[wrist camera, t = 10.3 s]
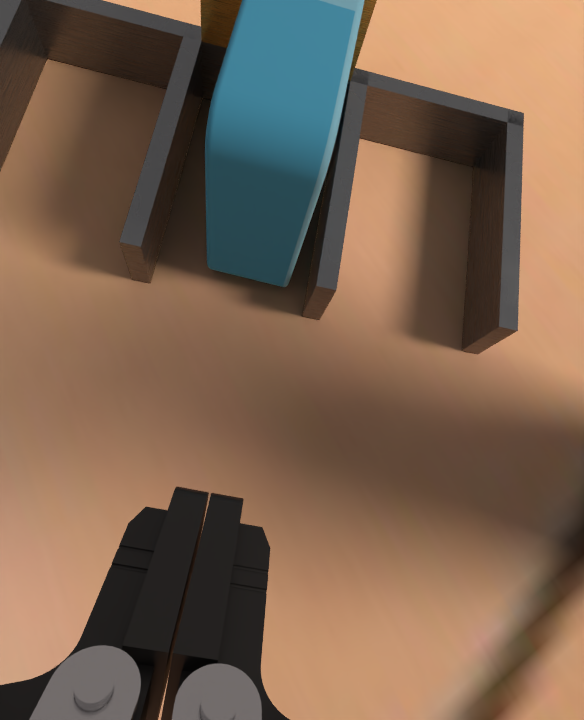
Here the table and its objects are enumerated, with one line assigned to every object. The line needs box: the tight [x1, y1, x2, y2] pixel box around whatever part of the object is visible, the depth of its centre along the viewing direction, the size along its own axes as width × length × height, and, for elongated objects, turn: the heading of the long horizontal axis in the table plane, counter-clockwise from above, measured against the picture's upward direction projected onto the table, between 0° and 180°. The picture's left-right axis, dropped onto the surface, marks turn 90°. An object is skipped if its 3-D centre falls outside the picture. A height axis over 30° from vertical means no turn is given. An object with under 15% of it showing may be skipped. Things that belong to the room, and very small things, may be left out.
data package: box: [205, 0, 365, 287], centre depth 25 cm, size 12×4×12 cm, turn 169°
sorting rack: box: [0, 0, 524, 354], centre depth 26 cm, size 30×14×9 cm, turn 81°
